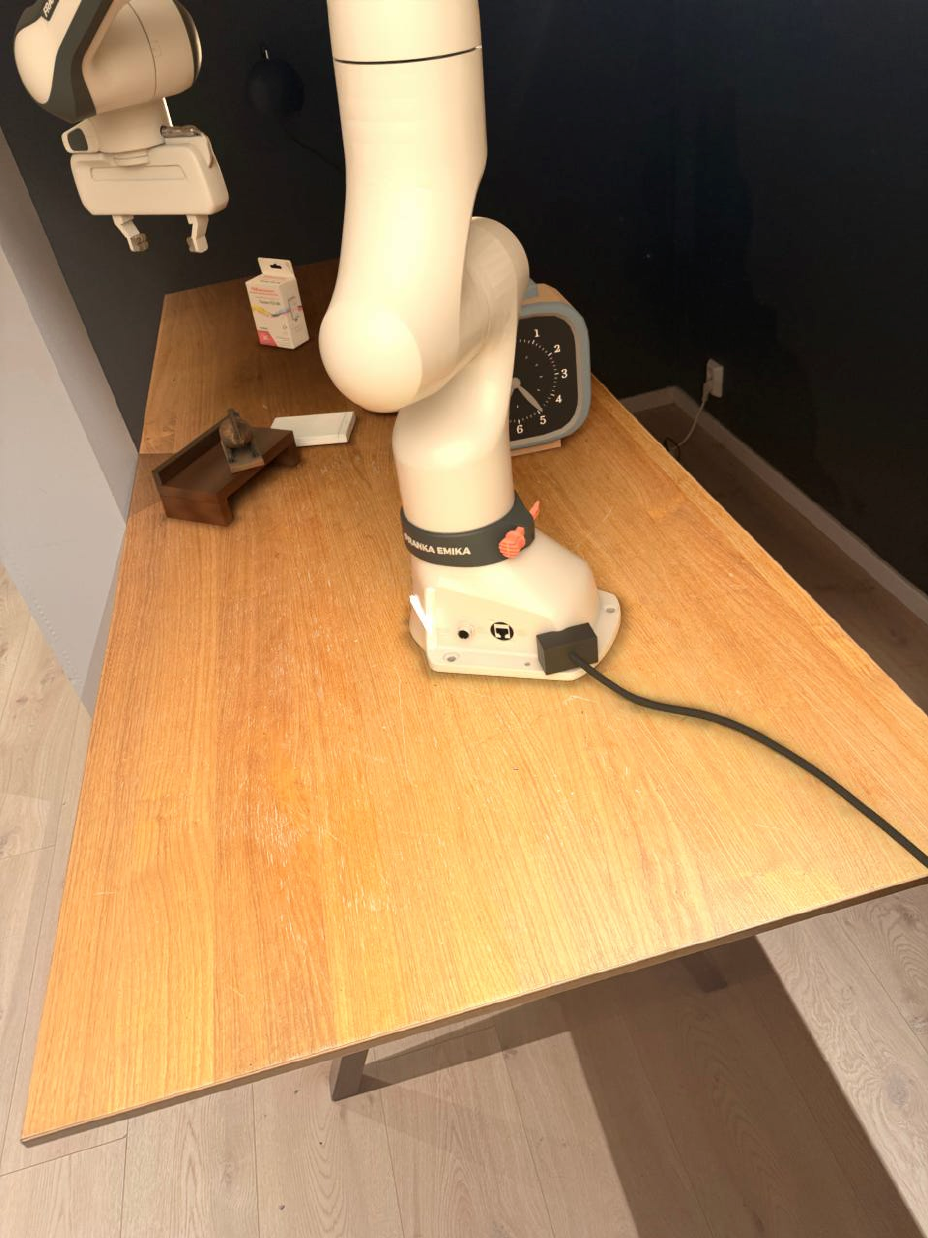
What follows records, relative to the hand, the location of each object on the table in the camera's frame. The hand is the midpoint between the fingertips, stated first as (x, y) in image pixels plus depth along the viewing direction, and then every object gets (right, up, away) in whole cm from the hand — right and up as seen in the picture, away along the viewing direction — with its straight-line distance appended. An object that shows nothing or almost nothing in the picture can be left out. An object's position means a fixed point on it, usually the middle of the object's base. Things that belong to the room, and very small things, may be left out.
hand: (169, 250), depth 118 cm
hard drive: (+14, -18, +26) cm, 34 cm away
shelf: (+5, -27, +15) cm, 32 cm away
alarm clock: (+44, -21, +16) cm, 51 cm away
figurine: (+7, -25, +10) cm, 27 cm away
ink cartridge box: (+3, +6, +59) cm, 60 cm away
